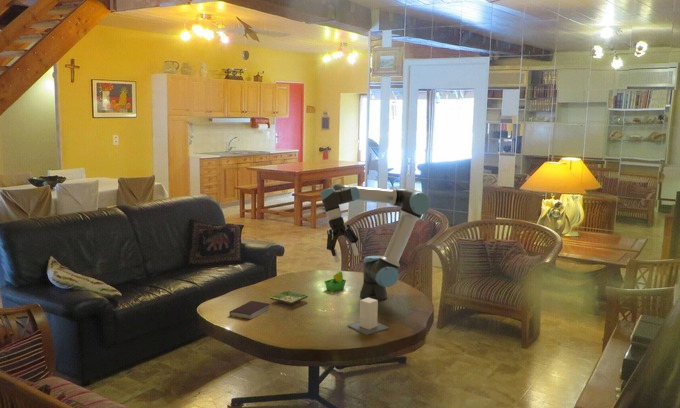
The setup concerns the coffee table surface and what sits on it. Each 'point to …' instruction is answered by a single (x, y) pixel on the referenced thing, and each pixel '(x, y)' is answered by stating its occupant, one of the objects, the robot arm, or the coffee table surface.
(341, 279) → the fruit basket
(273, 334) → the coffee table surface
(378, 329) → the slate mat
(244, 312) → the book
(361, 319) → the cream block
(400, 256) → the robot arm
